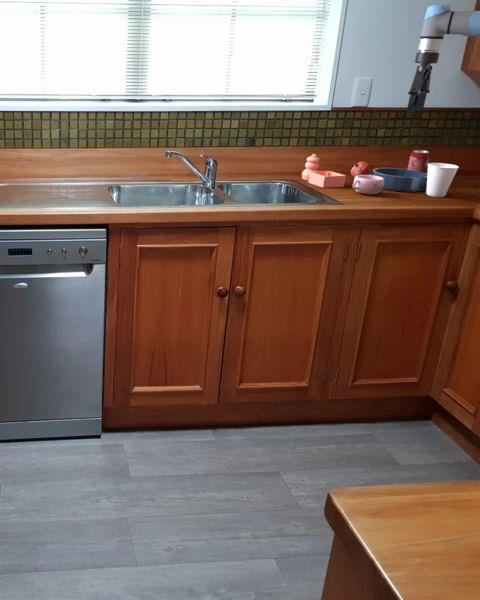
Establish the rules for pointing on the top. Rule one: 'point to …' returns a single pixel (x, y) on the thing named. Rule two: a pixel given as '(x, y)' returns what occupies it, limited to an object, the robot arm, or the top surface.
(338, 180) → the pottery
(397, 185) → the bowl
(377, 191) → the mug
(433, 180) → the cup
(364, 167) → the pomegranate
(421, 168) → the soda can
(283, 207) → the top surface
